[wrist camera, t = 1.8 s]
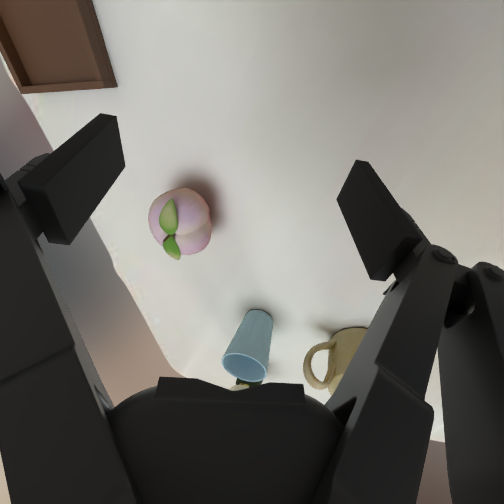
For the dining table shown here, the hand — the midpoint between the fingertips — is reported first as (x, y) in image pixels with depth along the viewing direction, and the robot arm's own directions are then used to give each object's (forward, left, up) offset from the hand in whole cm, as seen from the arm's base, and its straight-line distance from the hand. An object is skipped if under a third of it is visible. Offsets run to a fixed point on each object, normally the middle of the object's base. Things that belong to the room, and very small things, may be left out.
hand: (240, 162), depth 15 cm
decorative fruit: (+17, -6, -18) cm, 26 cm away
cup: (+33, +14, -12) cm, 38 cm away
